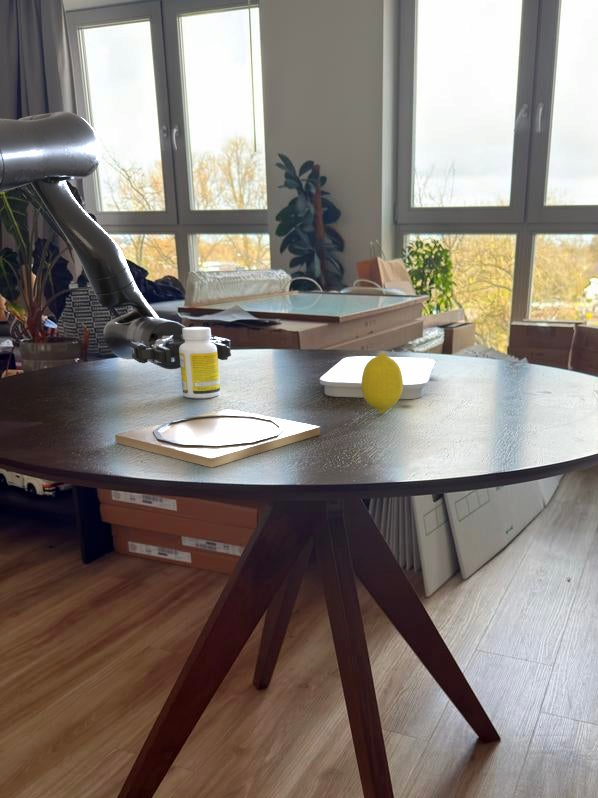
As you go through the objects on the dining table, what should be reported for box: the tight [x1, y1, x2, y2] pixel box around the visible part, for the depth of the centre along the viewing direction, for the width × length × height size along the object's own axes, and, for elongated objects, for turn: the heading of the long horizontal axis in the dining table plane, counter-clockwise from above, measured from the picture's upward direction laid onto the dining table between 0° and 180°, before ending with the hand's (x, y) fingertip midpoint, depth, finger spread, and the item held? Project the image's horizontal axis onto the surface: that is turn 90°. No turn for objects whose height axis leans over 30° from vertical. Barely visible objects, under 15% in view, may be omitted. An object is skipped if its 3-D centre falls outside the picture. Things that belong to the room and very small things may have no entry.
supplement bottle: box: [179, 326, 221, 399], centre depth 106 cm, size 5×5×10 cm
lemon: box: [361, 352, 403, 414], centre depth 96 cm, size 6×6×8 cm
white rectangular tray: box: [319, 355, 436, 400], centre depth 118 cm, size 16×26×2 cm, turn 173°
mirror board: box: [114, 408, 321, 468], centre depth 84 cm, size 17×16×1 cm
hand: (197, 355), depth 105 cm, fingers open, 8 cm apart
